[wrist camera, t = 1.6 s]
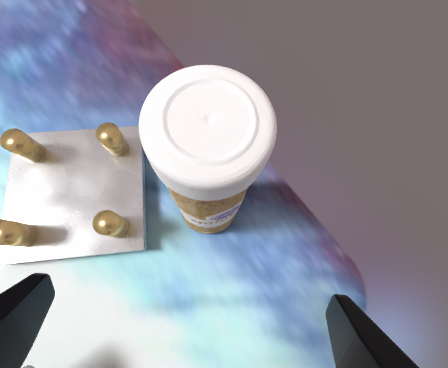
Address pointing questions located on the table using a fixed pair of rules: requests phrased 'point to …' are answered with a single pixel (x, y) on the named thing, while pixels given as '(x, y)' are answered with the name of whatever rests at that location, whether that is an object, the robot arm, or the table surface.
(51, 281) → the robot arm
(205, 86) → the sprinkles bottle
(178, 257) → the table surface
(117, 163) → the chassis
